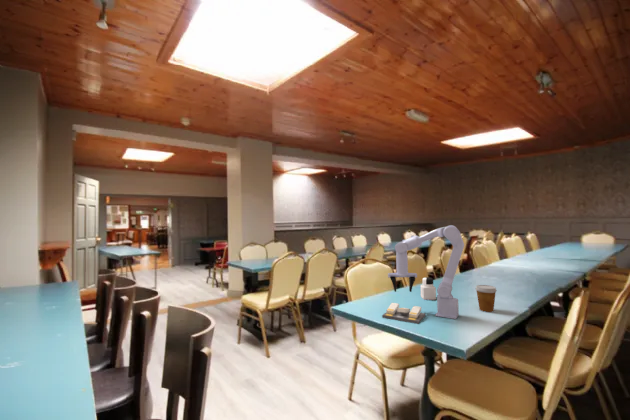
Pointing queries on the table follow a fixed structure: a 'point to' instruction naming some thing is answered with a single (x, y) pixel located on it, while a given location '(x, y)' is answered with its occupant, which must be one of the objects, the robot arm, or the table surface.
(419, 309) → the block
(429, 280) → the medicine bottle
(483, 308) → the disposable coffee cup
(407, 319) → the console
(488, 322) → the table surface
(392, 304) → the rocker
